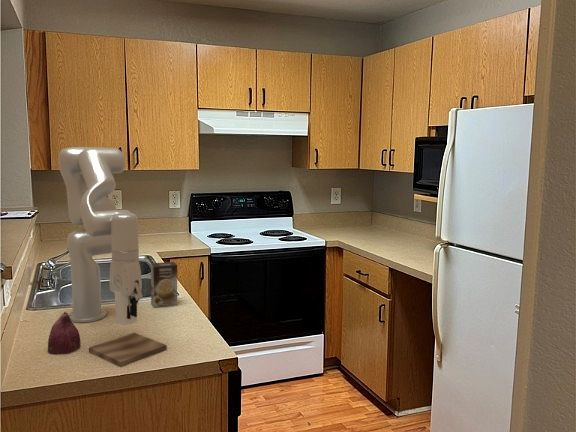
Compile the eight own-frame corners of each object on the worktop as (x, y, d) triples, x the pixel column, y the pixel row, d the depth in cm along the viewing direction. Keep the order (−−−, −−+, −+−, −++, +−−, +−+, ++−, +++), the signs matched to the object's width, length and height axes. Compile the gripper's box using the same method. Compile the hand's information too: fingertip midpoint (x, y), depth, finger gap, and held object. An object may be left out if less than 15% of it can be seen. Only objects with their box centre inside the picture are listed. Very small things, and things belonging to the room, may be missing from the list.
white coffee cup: (138, 316, 158) (137, 285, 156) (138, 324, 151) (137, 291, 150) (115, 318, 156) (114, 286, 154) (114, 326, 149) (113, 292, 148)
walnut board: (88, 352, 153) (88, 347, 153) (134, 337, 166) (134, 332, 165) (120, 366, 143) (120, 361, 143) (166, 349, 156) (166, 344, 156)
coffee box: (153, 308, 195) (152, 266, 193) (150, 303, 201) (150, 263, 199) (177, 305, 199) (177, 264, 197) (174, 300, 204) (174, 261, 202)
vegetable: (82, 359, 155) (89, 320, 151) (48, 362, 150) (54, 321, 146) (77, 341, 162) (83, 304, 159) (44, 343, 157) (50, 304, 154)
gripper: (97, 253, 153) (99, 313, 155) (131, 261, 143) (133, 325, 145) (119, 250, 159) (121, 307, 161) (153, 257, 148) (155, 318, 151)
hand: (127, 315), depth 153 cm, fingers closed on white coffee cup, 3 cm apart
